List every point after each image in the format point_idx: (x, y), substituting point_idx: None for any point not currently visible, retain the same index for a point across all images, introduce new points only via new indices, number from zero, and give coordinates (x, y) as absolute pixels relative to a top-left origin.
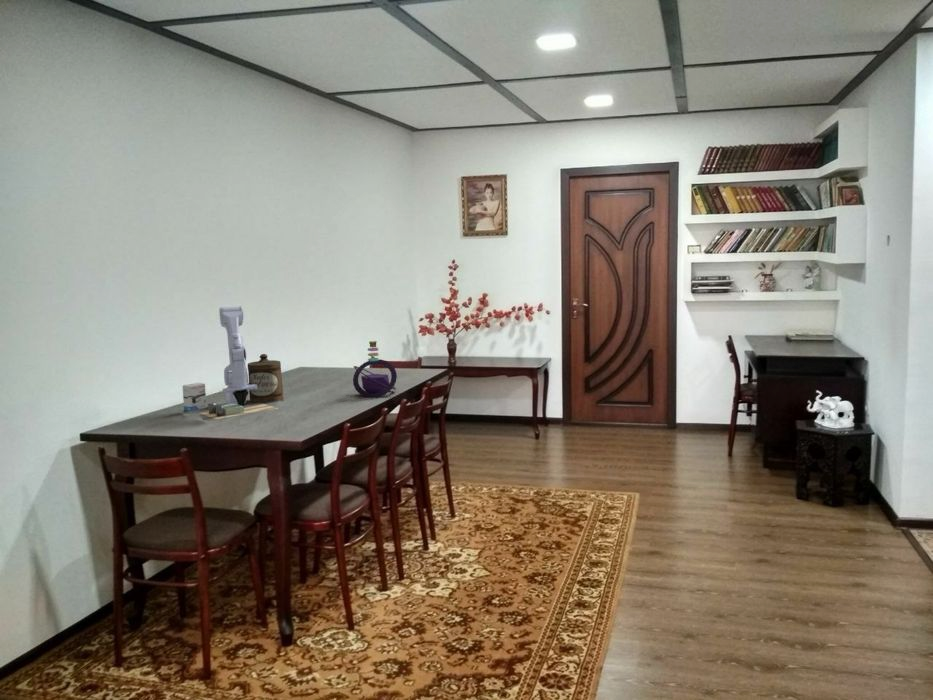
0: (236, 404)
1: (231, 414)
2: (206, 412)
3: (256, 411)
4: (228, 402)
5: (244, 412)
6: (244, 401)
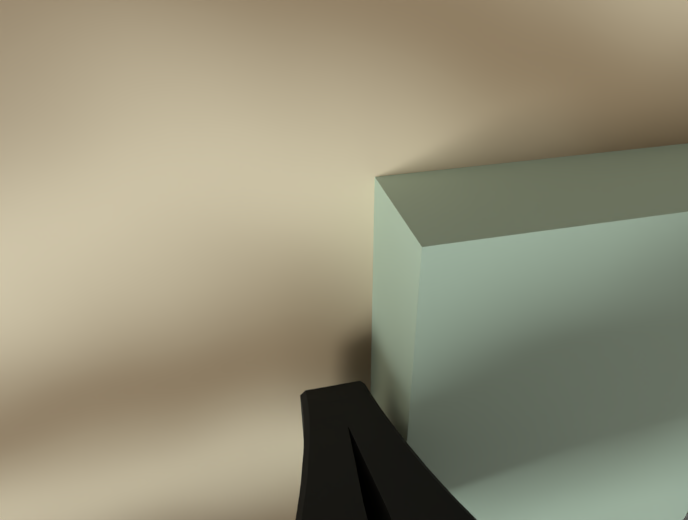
0: None
1: (656, 135)
2: None
3: (87, 39)
4: None
5: (384, 148)
6: (317, 503)
